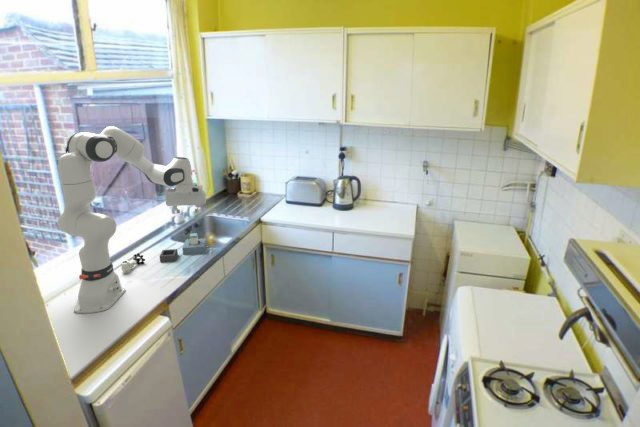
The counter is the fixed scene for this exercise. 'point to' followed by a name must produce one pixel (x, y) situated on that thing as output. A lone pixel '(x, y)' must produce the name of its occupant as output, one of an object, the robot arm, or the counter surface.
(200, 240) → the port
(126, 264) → the valve
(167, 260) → the grey square container
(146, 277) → the counter surface
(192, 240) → the plug
